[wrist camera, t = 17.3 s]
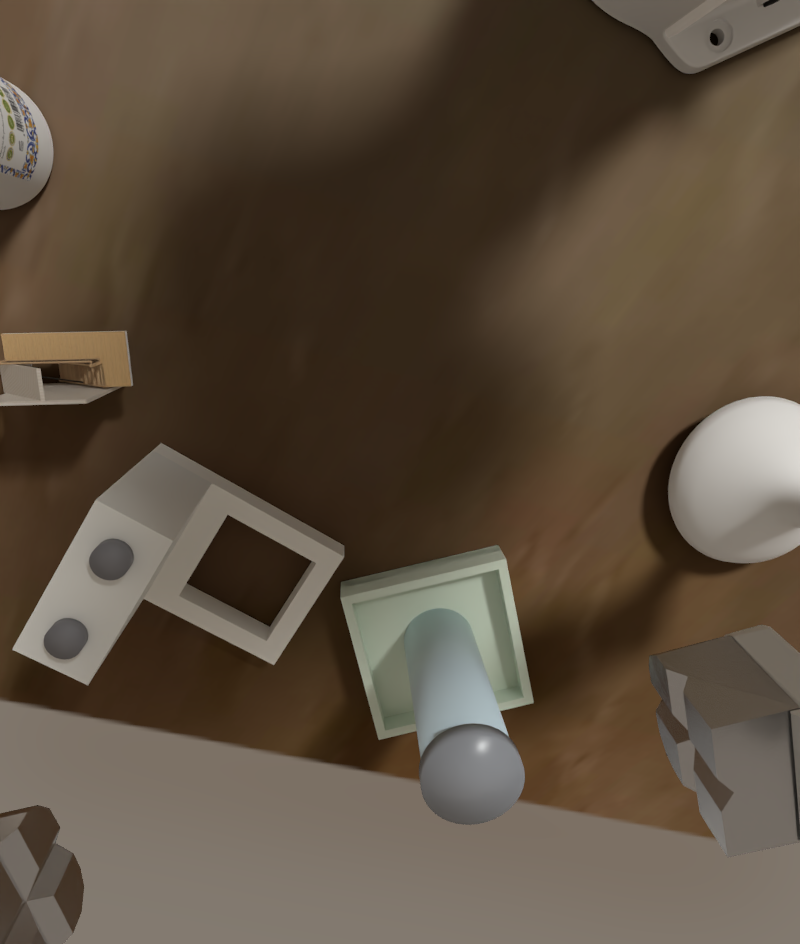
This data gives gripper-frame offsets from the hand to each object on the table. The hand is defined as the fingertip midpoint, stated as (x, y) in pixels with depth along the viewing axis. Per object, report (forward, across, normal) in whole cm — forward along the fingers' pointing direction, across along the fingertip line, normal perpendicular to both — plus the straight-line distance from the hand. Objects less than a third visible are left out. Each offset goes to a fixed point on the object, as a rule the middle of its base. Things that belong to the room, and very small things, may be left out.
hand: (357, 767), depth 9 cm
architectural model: (+37, +17, -4) cm, 41 cm away
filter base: (+36, +12, +10) cm, 39 cm away
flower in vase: (+37, -23, +13) cm, 45 cm away
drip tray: (+36, 0, +20) cm, 41 cm away
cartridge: (+35, 0, +20) cm, 40 cm away
